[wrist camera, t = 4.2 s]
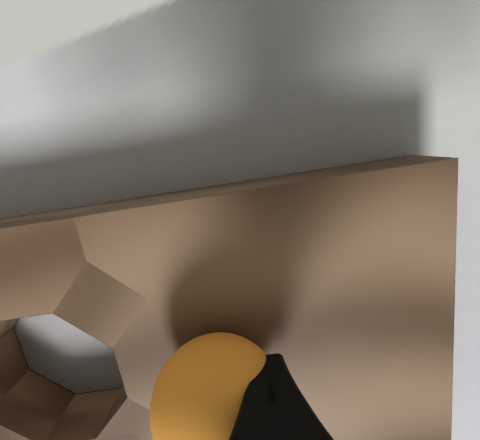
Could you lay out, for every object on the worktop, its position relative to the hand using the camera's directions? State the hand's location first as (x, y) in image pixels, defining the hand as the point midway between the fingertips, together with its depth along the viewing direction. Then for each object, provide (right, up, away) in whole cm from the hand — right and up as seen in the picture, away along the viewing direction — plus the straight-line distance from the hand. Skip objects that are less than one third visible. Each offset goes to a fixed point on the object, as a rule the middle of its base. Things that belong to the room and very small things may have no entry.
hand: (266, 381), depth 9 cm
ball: (-1, 0, 0) cm, 2 cm away
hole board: (-3, 0, +4) cm, 5 cm away
